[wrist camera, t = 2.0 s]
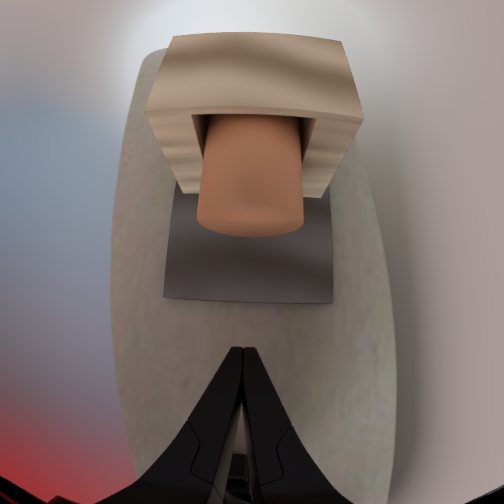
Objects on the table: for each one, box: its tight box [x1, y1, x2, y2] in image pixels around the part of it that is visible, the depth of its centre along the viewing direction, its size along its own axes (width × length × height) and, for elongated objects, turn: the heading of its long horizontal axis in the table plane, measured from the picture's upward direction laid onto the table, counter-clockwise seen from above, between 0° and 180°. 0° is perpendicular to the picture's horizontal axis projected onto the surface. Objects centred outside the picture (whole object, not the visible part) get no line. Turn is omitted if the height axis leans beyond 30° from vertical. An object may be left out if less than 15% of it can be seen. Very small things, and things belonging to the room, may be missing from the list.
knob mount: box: [144, 32, 364, 304], centre depth 19 cm, size 18×14×12 cm
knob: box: [197, 114, 304, 237], centre depth 17 cm, size 7×6×6 cm
